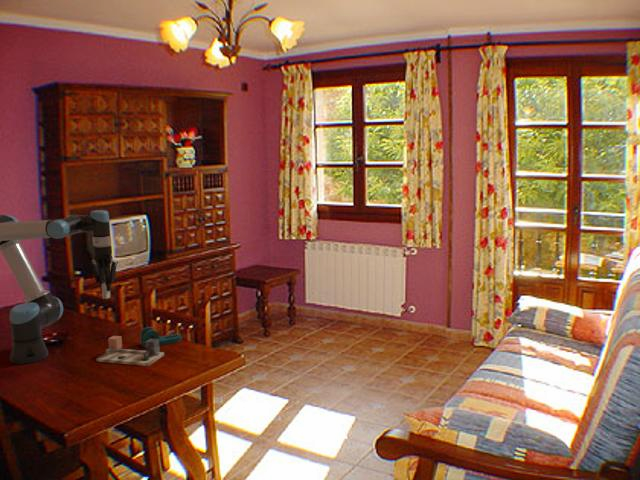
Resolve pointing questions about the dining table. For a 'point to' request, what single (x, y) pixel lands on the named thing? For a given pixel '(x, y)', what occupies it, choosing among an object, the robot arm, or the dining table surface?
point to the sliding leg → (114, 343)
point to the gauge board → (134, 355)
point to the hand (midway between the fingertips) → (106, 297)
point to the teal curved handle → (163, 340)
